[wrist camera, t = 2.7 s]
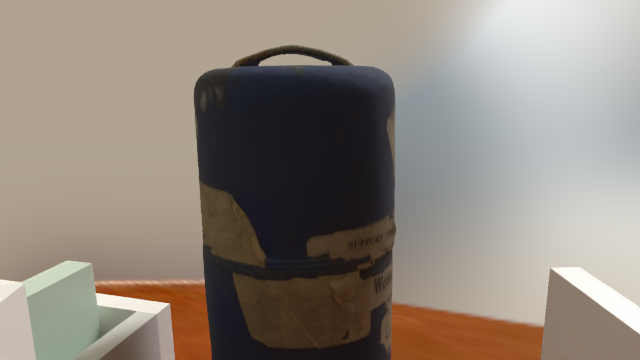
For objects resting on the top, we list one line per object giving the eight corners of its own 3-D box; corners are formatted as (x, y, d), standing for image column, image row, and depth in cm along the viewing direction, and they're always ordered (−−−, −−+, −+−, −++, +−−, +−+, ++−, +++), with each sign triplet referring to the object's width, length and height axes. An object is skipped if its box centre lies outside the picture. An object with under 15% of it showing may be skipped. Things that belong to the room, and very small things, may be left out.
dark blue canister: (405, 456, 21) (419, 32, 18) (190, 460, 21) (161, 34, 17) (377, 342, 30) (382, 51, 27) (228, 344, 30) (214, 52, 27)
